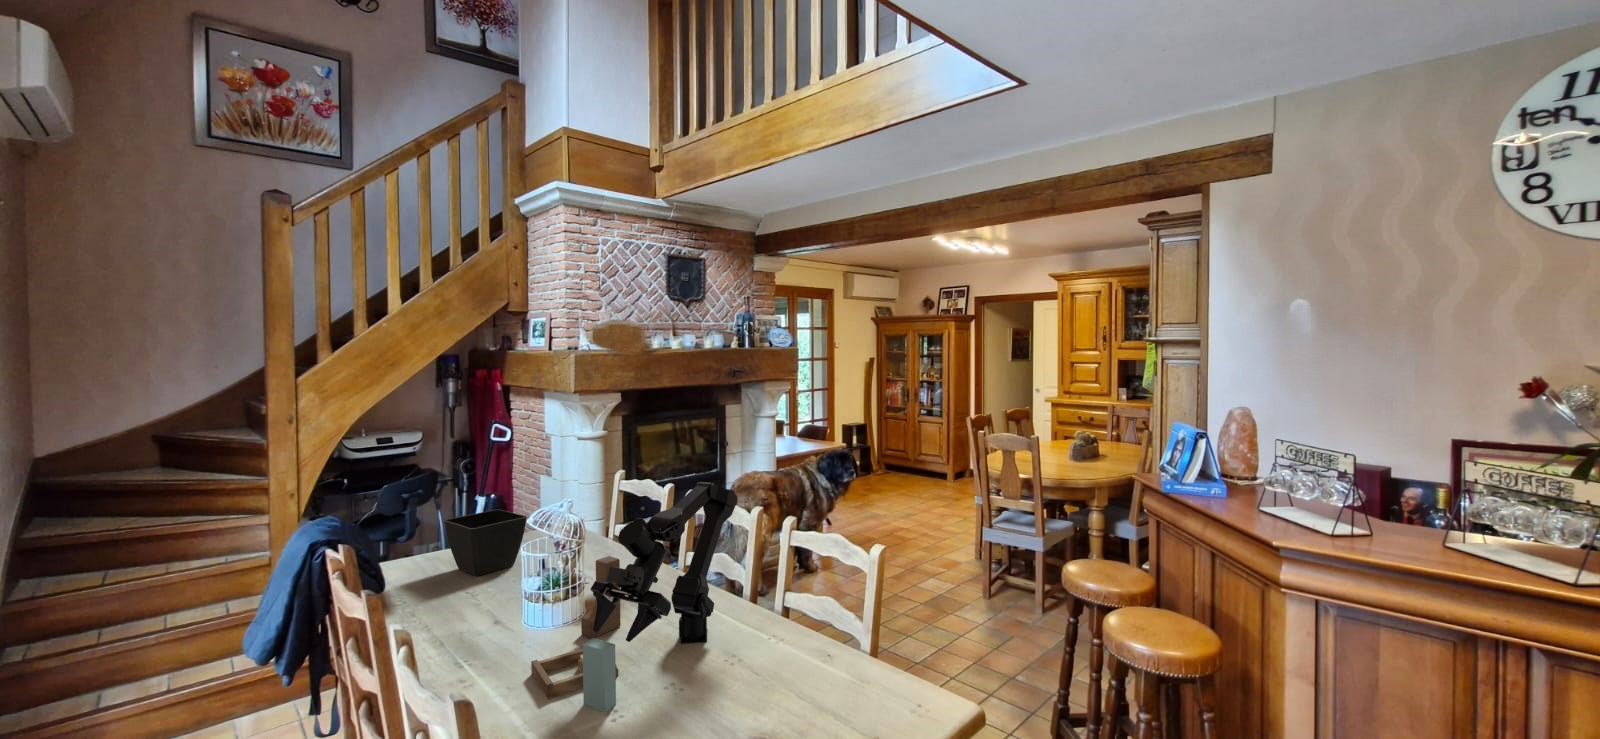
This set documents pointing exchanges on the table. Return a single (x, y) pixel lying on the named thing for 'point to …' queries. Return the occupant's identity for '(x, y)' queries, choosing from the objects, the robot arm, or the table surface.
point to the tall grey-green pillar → (599, 674)
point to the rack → (552, 664)
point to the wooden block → (589, 619)
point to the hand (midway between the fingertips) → (610, 636)
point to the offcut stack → (580, 663)
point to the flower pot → (485, 540)
